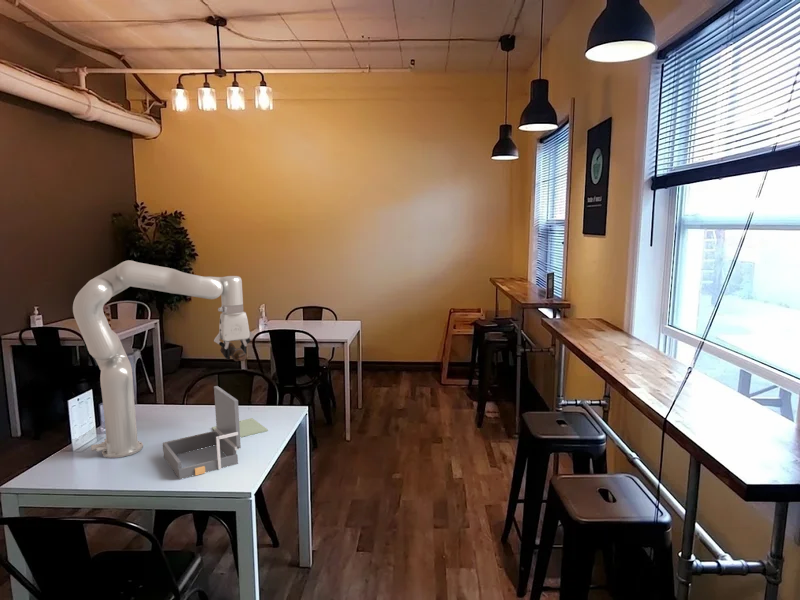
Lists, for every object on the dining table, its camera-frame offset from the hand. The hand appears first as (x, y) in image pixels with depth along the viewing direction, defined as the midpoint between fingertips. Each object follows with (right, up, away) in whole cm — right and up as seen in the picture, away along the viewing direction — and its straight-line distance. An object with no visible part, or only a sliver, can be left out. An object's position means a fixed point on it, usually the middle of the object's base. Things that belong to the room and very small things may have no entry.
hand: (235, 357), depth 199 cm
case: (-4, -32, -23) cm, 39 cm away
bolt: (0, -1, 0) cm, 1 cm away
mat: (0, -28, +4) cm, 28 cm away
